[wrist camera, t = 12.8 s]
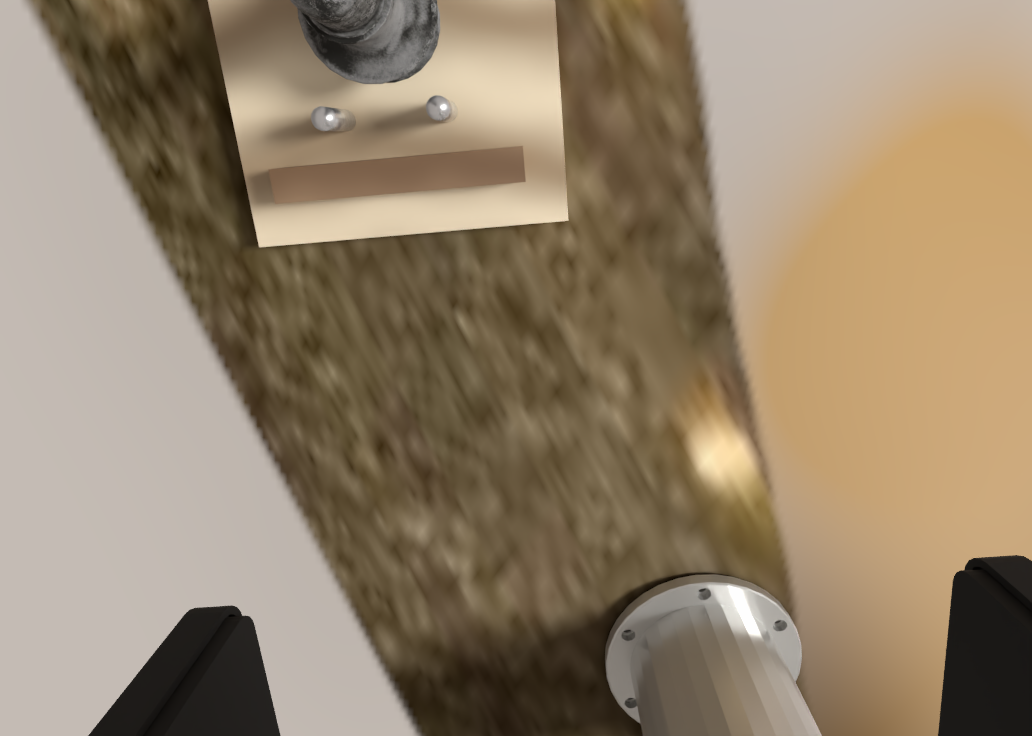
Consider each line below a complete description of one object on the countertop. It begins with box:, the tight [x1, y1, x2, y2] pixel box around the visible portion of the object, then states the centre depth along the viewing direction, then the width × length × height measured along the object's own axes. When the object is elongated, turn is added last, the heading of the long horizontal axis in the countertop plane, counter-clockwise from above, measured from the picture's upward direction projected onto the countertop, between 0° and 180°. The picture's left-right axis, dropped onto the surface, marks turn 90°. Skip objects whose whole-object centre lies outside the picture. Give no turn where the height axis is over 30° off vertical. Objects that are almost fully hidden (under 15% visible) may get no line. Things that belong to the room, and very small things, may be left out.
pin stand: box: [208, 0, 568, 247], centre depth 30 cm, size 20×16×6 cm
